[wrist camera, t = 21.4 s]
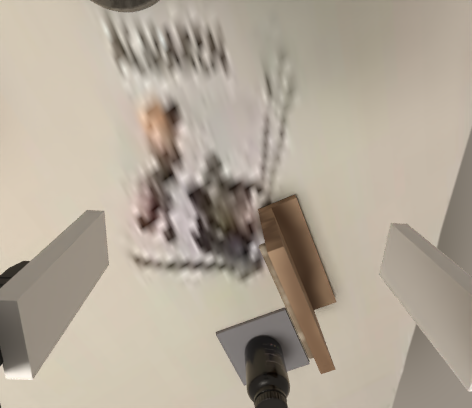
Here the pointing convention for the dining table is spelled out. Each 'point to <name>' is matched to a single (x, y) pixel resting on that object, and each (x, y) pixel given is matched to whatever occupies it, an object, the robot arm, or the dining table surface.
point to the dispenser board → (297, 274)
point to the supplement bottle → (266, 373)
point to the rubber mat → (265, 325)
